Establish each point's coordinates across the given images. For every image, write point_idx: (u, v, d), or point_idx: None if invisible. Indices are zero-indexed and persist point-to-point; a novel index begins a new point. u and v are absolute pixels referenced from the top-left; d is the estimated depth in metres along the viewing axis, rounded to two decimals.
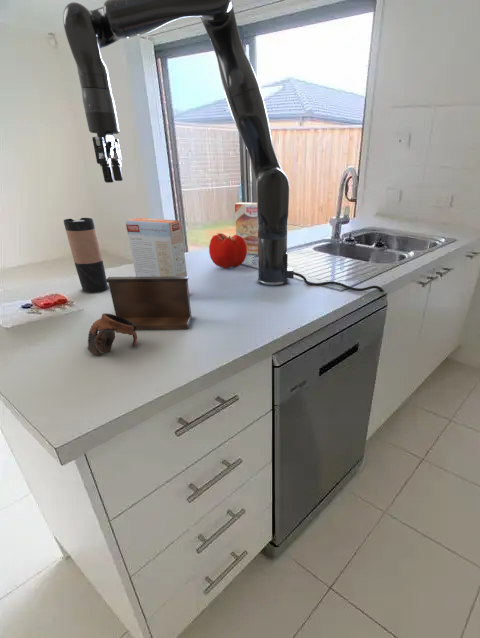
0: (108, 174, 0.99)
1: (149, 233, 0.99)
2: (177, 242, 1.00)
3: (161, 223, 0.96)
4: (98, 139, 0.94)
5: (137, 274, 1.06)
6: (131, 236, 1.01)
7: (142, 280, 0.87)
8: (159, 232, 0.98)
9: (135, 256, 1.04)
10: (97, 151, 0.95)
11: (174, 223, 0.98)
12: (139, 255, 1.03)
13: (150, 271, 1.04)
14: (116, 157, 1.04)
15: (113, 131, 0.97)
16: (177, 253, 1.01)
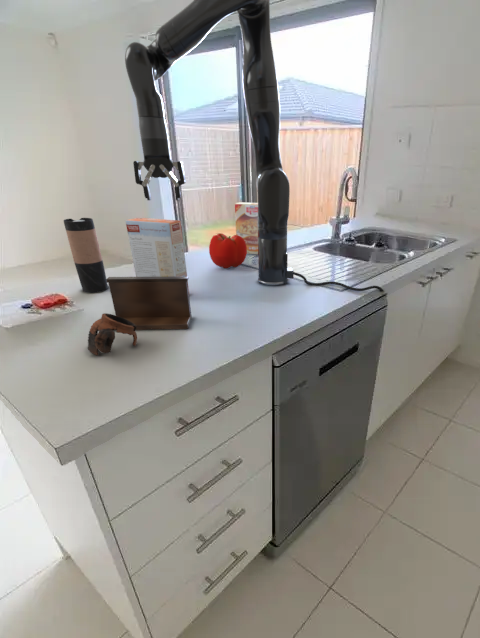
0: None
1: (149, 233, 0.99)
2: (177, 242, 1.00)
3: (161, 223, 0.96)
4: None
5: (137, 274, 1.06)
6: (131, 236, 1.01)
7: (142, 280, 0.87)
8: (160, 232, 0.98)
9: (135, 256, 1.04)
10: None
11: (174, 223, 0.98)
12: (139, 255, 1.03)
13: (150, 271, 1.04)
14: None
15: (147, 155, 1.05)
16: (177, 253, 1.01)
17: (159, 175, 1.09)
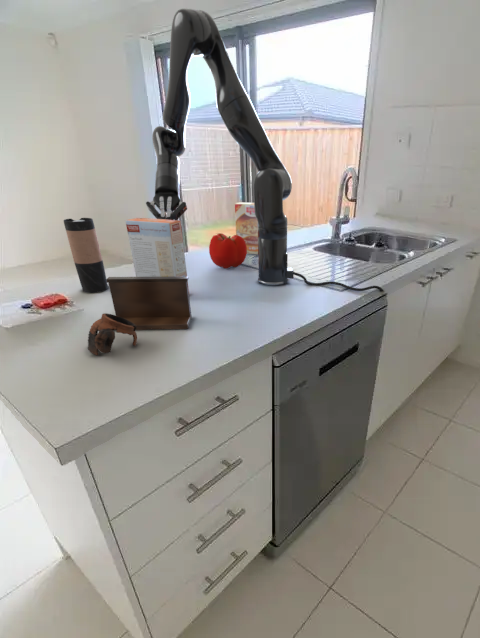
0: None
1: (149, 233, 0.99)
2: (177, 242, 1.00)
3: (161, 223, 0.96)
4: (147, 206, 1.16)
5: (137, 274, 1.06)
6: (131, 236, 1.01)
7: (142, 280, 0.87)
8: (160, 232, 0.98)
9: (135, 256, 1.04)
10: (152, 213, 1.17)
11: (174, 223, 0.98)
12: (139, 255, 1.03)
13: (150, 271, 1.04)
14: None
15: (158, 187, 1.15)
16: (177, 253, 1.01)
17: (166, 206, 1.16)
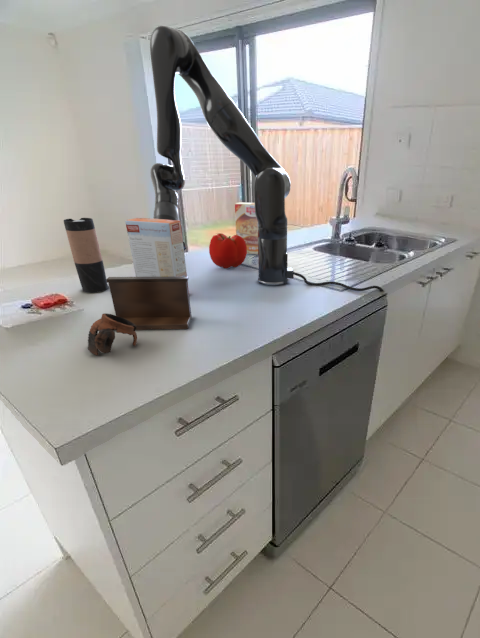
0: None
1: (149, 233, 0.99)
2: (177, 242, 1.00)
3: (161, 223, 0.96)
4: None
5: (137, 274, 1.06)
6: (131, 236, 1.01)
7: (142, 280, 0.87)
8: (159, 232, 0.98)
9: (135, 256, 1.04)
10: None
11: (174, 223, 0.98)
12: (139, 256, 1.03)
13: (150, 271, 1.04)
14: None
15: None
16: (177, 253, 1.01)
17: None
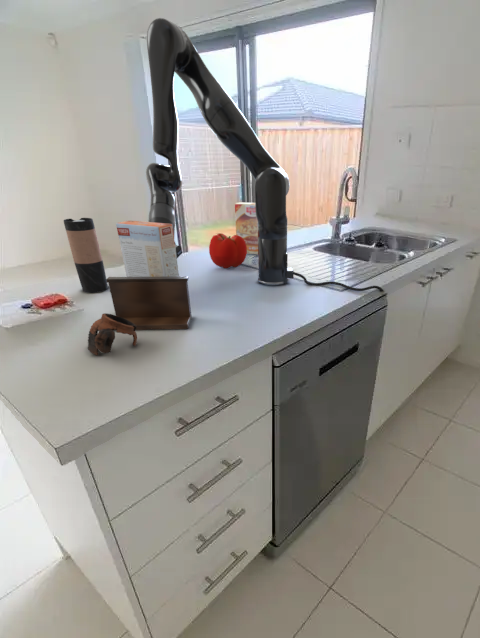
0: None
1: (139, 237, 0.94)
2: (168, 247, 0.95)
3: (150, 227, 0.91)
4: None
5: None
6: (122, 239, 0.97)
7: (142, 280, 0.87)
8: (149, 236, 0.93)
9: (126, 260, 0.99)
10: None
11: (164, 227, 0.92)
12: (130, 260, 0.99)
13: (141, 276, 1.00)
14: None
15: None
16: (168, 259, 0.96)
17: None
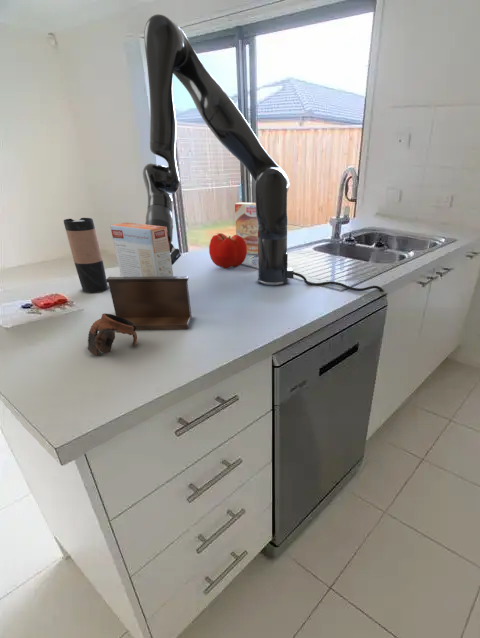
0: None
1: (132, 239, 0.91)
2: (161, 251, 0.92)
3: (143, 229, 0.88)
4: None
5: None
6: (116, 242, 0.94)
7: (142, 280, 0.87)
8: (142, 239, 0.89)
9: (121, 263, 0.97)
10: None
11: (158, 230, 0.89)
12: (124, 263, 0.96)
13: None
14: None
15: None
16: (161, 263, 0.93)
17: None
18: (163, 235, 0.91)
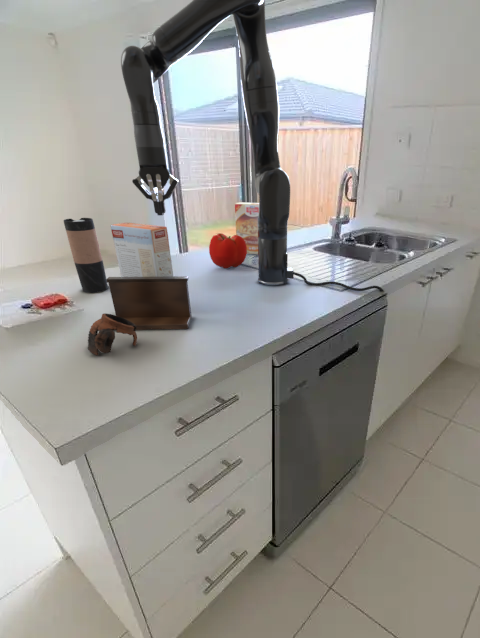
0: (154, 208, 1.07)
1: (132, 239, 0.91)
2: (161, 250, 0.92)
3: (143, 229, 0.88)
4: None
5: None
6: (116, 242, 0.94)
7: (142, 280, 0.87)
8: (142, 239, 0.89)
9: (121, 263, 0.97)
10: None
11: (158, 230, 0.89)
12: (124, 263, 0.96)
13: None
14: None
15: (142, 164, 0.99)
16: (161, 263, 0.93)
17: (155, 185, 1.03)
18: (163, 235, 0.91)
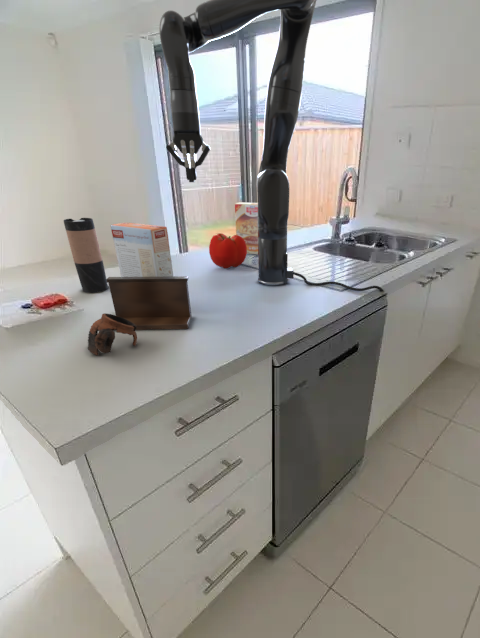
0: (186, 174, 1.10)
1: (132, 239, 0.91)
2: (161, 251, 0.92)
3: (143, 229, 0.88)
4: None
5: None
6: (116, 242, 0.94)
7: (142, 280, 0.87)
8: (142, 239, 0.89)
9: (121, 263, 0.97)
10: None
11: (158, 230, 0.89)
12: (124, 263, 0.96)
13: None
14: None
15: (177, 130, 1.02)
16: (161, 263, 0.93)
17: (188, 151, 1.07)
18: (163, 235, 0.91)
